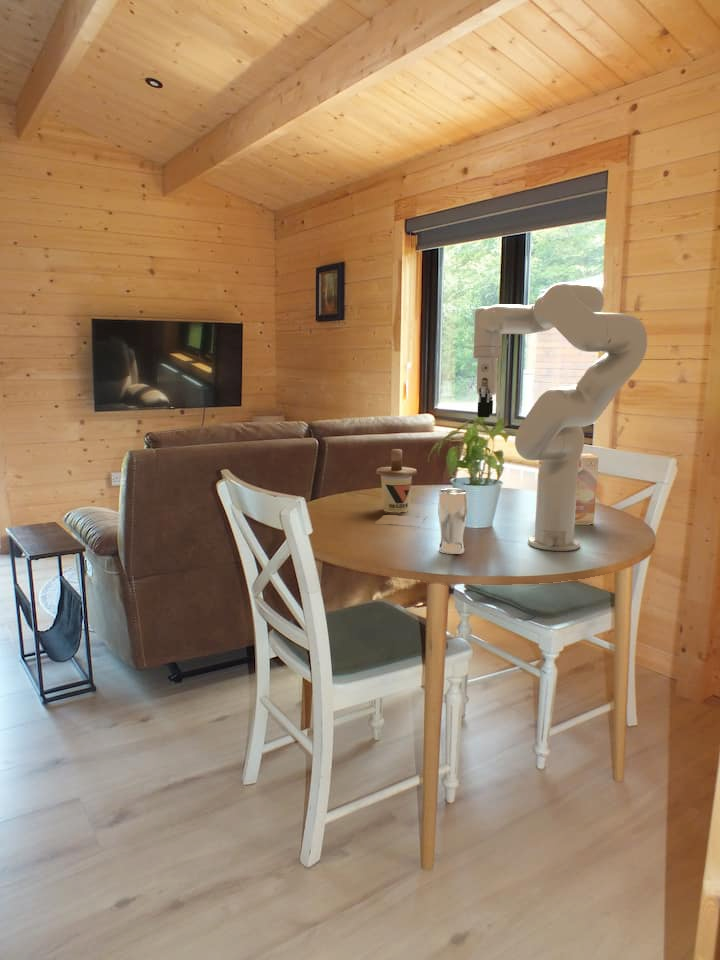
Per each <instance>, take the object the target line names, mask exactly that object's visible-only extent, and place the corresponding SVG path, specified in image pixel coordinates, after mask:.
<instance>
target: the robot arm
mask: <svg viewBox="0 0 720 960" xmlns="http://www.w3.org/2000/svg"><path fill="white" fill-rule="evenodd" d="M604 304H605V298H604V295H603V293H602V292H601V290H600V289H598V288H597V287H596V286H594V285H592V284H587V283H577V282H574V283H573V282H558V283H554V284H553V285H551V286H550V287H549V288H547V289H546V290H545V292H544V293H541V294H540V295H539V296H538V297H537V298H536V299H535V302H534V304H529V305H528V304H527V305H525V304H524V305H523V304H502V303H501V304H499V303H498V304H493V305H491V306H480V307H476V309H475V312H474V328H473V329H474V333H473V355H472V356H473V358H472V359H477V365H476V366H477V367H476V369H477V371H476V393H477V395H478V402H477V417H478V418H489V417H490V416H491V415H493V414H494V413H493V411H494V410H493V409H494V400H493V396H495V395H496V394H497V393H498V372H499V371H498V368H499V367H498V359H502V350H503V349H502V347H503V345H502V344H503V334H504V335H510V334H511V335H530V334H537V333H542V332H547V331H550V330H551V329H553V328H555V330H557V331H558V332H559V333H560V335H562V336H563V338H565V340H567V342H568V343H570V344H571V346H572V347H574V348H575V349H577V350H578V351H582V352H587V353H604V354H603V355H602V356H601V357H600V358H599V359H597V360H596V361H594V362H593V363H592V364H591V365H590V366H589V367H588V368H587V369H586V371H585V373H584V375H582V377H581V378H580V379H579V381H578V382H576V383H575V384H573V385H571V386H559V387H558V386H557V387H553V388H552V387H551V388H550V389H548V390H546V391H545V392H543V393H542V394H541V395H540V396H539V397H538V398H537V400H536V402H535V403H533V404H534V405H533V406H532V407H531V409H530V410H529V411H528V414H527V415H526V416H525V418H524V419H523V421H522V422H521V424H520V425H519V426H518V429H517V431H516V434H515V439H514V446H515V450H516V453H518V455H519V456H520V457H521V458H522V459H525V460H527V461H539V460H543V462H542V464H541V466H540V469H539V468H538V474H537V483H536V502H535V503H536V504H535V506H536V507H535V523H534V535H531V536H530V537H528V538H527V539H528V540H527V543H528V544H529V545H530V546H531V547H532V548H536V549H540V550H544V551H550V552H551V551H553V552H554V551H555V552H569V551H575V550H578V549H579V548H580V547H581V542H580V540H578V539H577V538H575V528H576V527H575V526H576V525H575V511H576V495H577V480H578V469H579V462H580V458H581V454H583V450H584V445H585V434H584V430H583V427H587V426H588V427H589V426H591V425H593V424H594V423H596V422H597V420H598V419H599V418H601V415H602V414H603V413H604V411H605V410H606V409H607V407H608V406H609V405H610V404H611V402H612V401H613V400H614V399H615V397H616V396H617V394H618V393H619V391H620V390H621V389H622V387H623V386H624V385H625V384H626V383H627V382H628V380H629V379H630V378H631V377H632V376H633V374H635V372H636V371H637V370H638V368H639V367H640V366H641V364H642V362H643V360H644V359H645V356H646V352H647V347H648V333H647V329H646V327H645V325H644V324H643V322H642V321H641V320H640V319H639V318H637V317H636V316H634V315H633V314H632V315H631V314H627V313H621V312H602V310H603V309H604V306H605V305H604Z"/></svg>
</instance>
